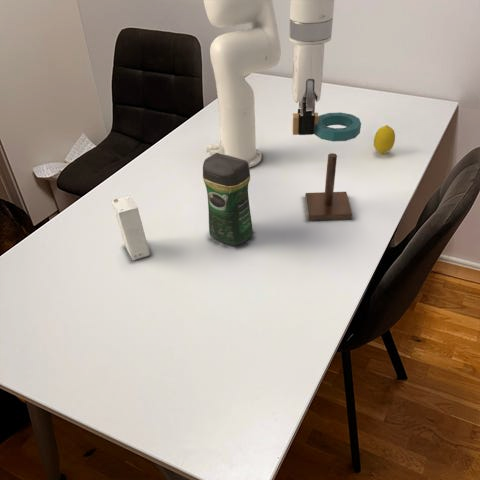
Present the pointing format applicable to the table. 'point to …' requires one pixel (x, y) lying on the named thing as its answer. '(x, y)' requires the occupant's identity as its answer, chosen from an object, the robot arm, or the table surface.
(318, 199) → the peg stand
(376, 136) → the lemon
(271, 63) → the robot arm
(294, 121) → the ring
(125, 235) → the cosmetic box
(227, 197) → the coffee jar
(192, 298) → the table surface
